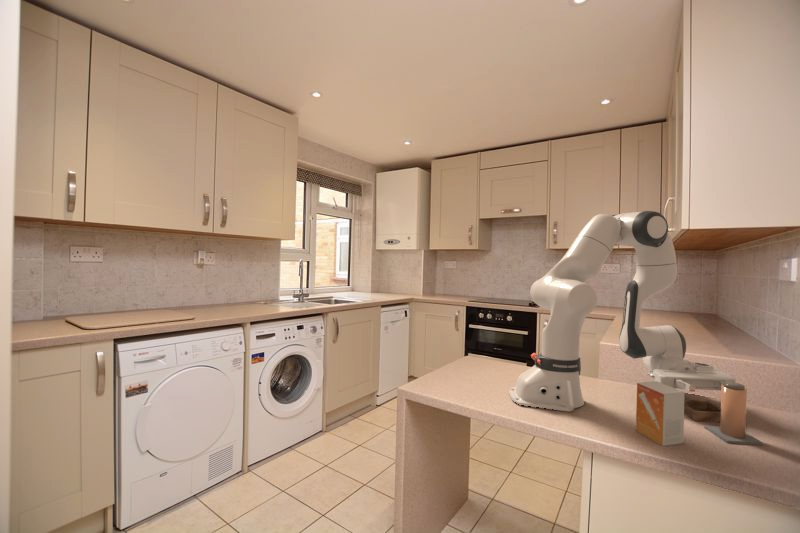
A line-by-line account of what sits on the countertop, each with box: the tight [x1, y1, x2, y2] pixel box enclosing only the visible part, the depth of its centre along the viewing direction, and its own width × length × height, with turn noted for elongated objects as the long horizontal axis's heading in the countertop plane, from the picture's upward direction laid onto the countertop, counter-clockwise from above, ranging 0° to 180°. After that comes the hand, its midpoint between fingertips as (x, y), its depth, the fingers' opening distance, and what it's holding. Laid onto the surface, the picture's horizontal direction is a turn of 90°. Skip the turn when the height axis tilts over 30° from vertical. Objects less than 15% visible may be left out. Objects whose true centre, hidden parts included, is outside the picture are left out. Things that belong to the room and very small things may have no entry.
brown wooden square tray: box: [684, 399, 721, 423], centre depth 107 cm, size 9×9×2 cm
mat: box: [704, 425, 764, 446], centre depth 94 cm, size 8×8×1 cm
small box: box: [635, 381, 686, 447], centre depth 93 cm, size 8×6×13 cm
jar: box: [720, 382, 748, 438], centre depth 94 cm, size 5×5×13 cm
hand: (710, 389), depth 102 cm, fingers open, 8 cm apart
